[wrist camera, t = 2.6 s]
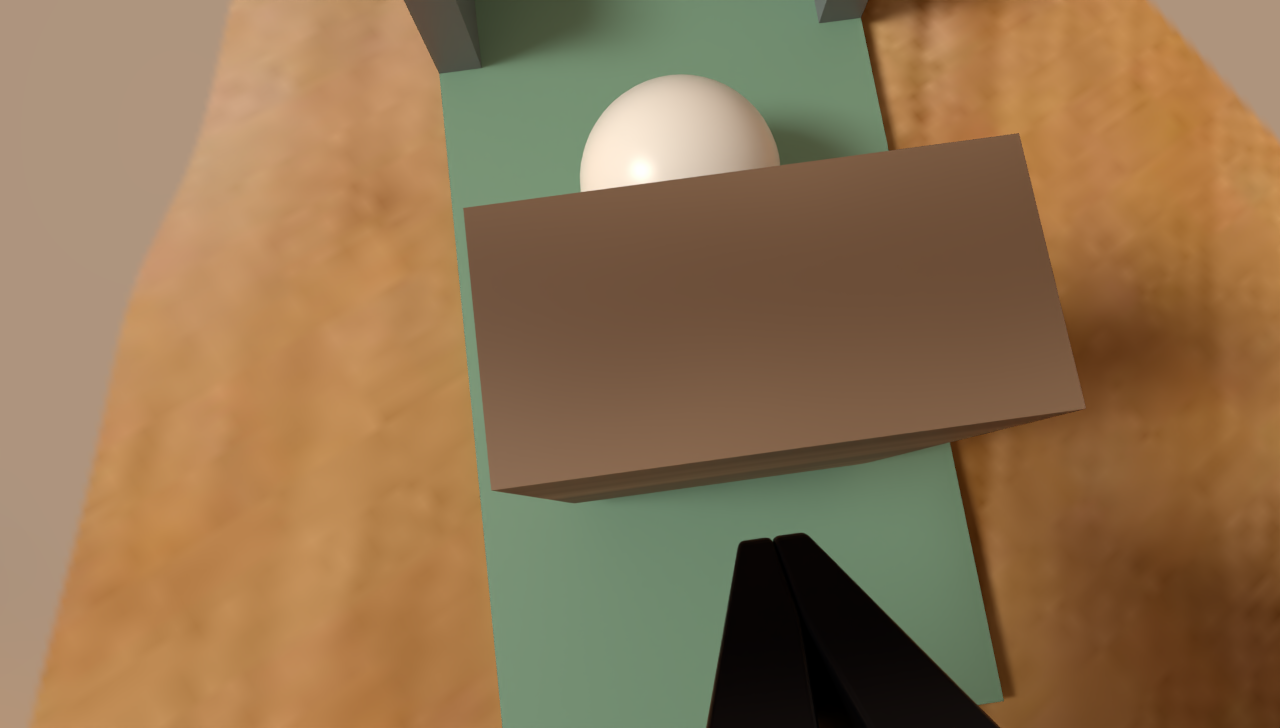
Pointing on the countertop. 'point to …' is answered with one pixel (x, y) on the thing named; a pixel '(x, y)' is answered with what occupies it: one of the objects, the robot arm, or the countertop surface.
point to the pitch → (705, 515)
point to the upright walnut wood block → (764, 321)
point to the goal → (453, 34)
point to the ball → (675, 134)
